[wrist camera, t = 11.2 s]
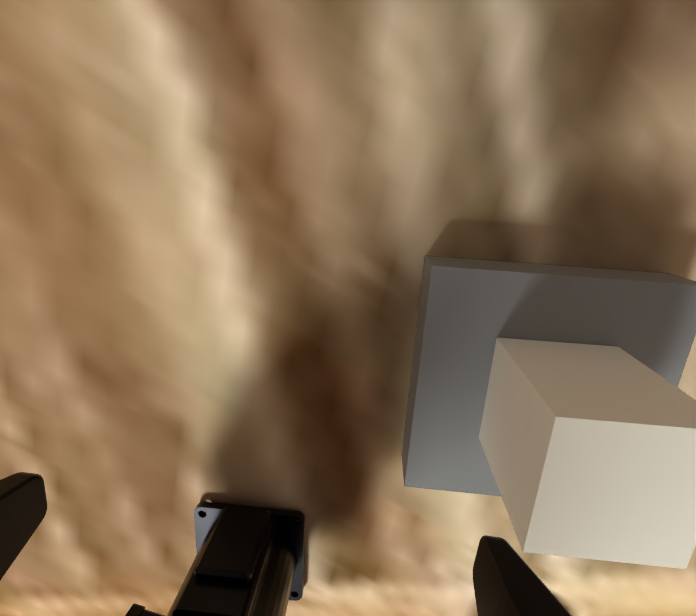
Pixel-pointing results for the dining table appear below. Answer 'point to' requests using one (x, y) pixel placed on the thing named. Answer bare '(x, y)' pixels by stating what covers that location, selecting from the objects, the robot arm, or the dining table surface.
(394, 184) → the dining table surface
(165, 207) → the dining table surface
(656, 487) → the cream block
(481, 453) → the grey square slab
